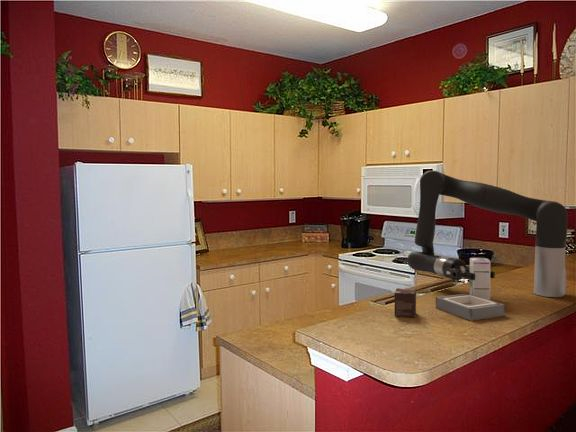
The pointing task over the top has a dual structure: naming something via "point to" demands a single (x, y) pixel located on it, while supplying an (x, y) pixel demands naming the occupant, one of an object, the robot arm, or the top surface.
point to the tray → (470, 306)
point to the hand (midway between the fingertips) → (484, 276)
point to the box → (405, 302)
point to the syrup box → (480, 278)
